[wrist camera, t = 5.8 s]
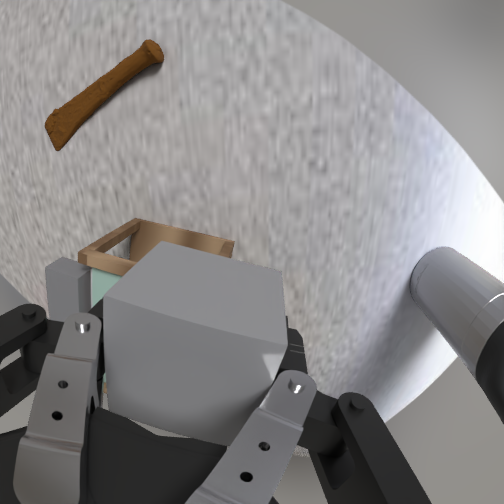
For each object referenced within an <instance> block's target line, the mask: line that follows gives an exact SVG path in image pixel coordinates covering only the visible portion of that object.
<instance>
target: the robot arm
mask: <svg viewBox="0 0 504 504" xmlns="http://www.w3.org/2000/svg"><path fill="white" fill-rule="evenodd" d="M410 289H411V294H412V298H413V299H414V301H415V302H416V304H417V305H418V306H419V307H420V308H421V310H422V311H423V312H424V313H425V314H426V316H427V317H428V318H429V320H430V321H431V322H432V323H433V324H434V326H435V327H436V328H437V329H438V331H439V332H440V333H441V334H442V336H443V337H444V338H445V340H446V341H447V342H448V343H449V345H450V346H451V347H452V349H453V350H454V351H455V353H456V354H457V355H458V356H459V358H460V359H461V360H462V362H463V363H464V365H465V366H466V367H467V368H468V370H469V371H470V373H471V374H472V375H473V377H474V378H475V380H476V381H477V382H478V384H479V385H480V387H481V388H482V389H483V391H484V393H485V394H486V396H487V398H488V399H489V401H490V403H491V404H492V406H493V407H494V409H495V410H496V412H497V414H498V415H499V417H500V419H501V421H502V422H503V424H504V283H502V282H501V281H500V280H498V279H497V278H495V277H494V276H493V275H491V274H490V273H488V272H487V271H486V270H484V269H483V268H481V267H480V266H478V265H477V264H475V263H474V262H472V261H471V260H470V259H468V258H467V257H465V256H464V255H462V254H461V253H459V252H457V251H456V250H454V249H452V248H450V247H439V248H436V249H433V250H431V251H430V252H428V253H427V254H426V255H425V256H424V257H423V258H422V259H421V260H420V261H419V262H418V264H417V265H416V267H415V269H414V271H413V274H412V278H411V284H410ZM286 328H287V340H288V346H287V349H286V351H285V354H284V356H283V359H282V361H281V364H280V366H279V369H278V371H277V374H276V376H275V379H274V381H273V383H272V386H271V388H270V390H269V392H268V394H267V395H266V397H265V399H264V400H263V402H262V403H261V405H260V406H259V408H258V407H257V408H256V409H255V410H254V411H253V413H252V414H251V416H250V417H249V419H248V420H247V422H246V423H245V425H244V426H243V428H242V429H241V431H240V432H239V434H238V435H237V437H236V438H235V440H234V441H233V442H232V444H231V445H230V447H229V449H228V450H227V446H225V445H220V444H215V443H211V442H206V441H202V440H198V439H194V438H179V437H167V436H158V435H155V434H153V433H152V432H150V431H148V430H146V429H145V428H143V427H141V426H139V425H138V424H136V423H135V422H133V421H131V420H129V419H128V418H126V417H123V416H121V415H118V414H115V413H113V412H110V411H108V410H105V409H103V408H102V402H103V389H104V374H105V358H104V330H103V297H102V299H100V300H99V301H98V302H97V303H96V304H95V305H94V306H93V307H92V308H91V309H90V310H89V312H88V313H75V314H72V315H70V316H68V317H67V318H66V320H65V322H60V321H54V320H48V319H47V318H46V312H45V310H44V308H42V307H41V306H39V305H36V304H24V305H21V306H18V307H17V308H15V309H13V310H11V311H9V312H7V313H5V314H3V315H1V316H0V364H1V362H2V360H3V359H4V358H5V357H7V356H8V355H10V354H12V353H13V352H15V351H16V350H18V349H20V353H21V357H19V358H18V359H16V360H15V361H14V362H12V363H10V364H9V365H7V366H6V367H4V368H3V369H1V370H0V417H1V416H2V415H4V414H5V413H6V412H8V411H9V410H10V409H11V408H13V407H14V406H15V405H17V404H18V403H19V402H20V401H22V400H23V399H24V398H26V397H27V396H28V395H30V394H31V393H32V392H33V391H35V390H36V393H35V397H34V400H33V404H32V409H31V413H30V417H29V421H28V426H26V427H23V428H19V429H16V430H13V431H9V432H6V433H2V434H0V504H279V503H278V502H277V501H276V500H275V498H274V497H273V494H274V492H275V490H276V488H277V486H278V484H279V482H280V480H281V478H282V476H283V474H284V471H285V469H286V467H287V465H288V463H289V461H290V459H291V456H292V454H293V452H294V450H295V447H296V445H299V446H301V447H304V448H306V449H308V451H309V454H310V457H311V460H312V462H313V465H314V467H315V470H316V473H317V476H318V478H319V481H320V484H321V486H322V489H323V492H324V494H325V497H326V499H327V502H328V504H432V503H431V502H430V500H429V498H428V496H427V495H426V493H425V491H424V490H423V488H422V486H421V484H420V483H419V481H418V479H417V477H416V476H415V474H414V472H413V471H412V469H411V467H410V466H409V464H408V462H407V460H406V459H405V457H404V455H403V454H402V452H401V450H400V449H399V447H398V445H397V443H396V442H395V440H394V439H393V437H392V435H391V433H390V432H389V430H388V428H387V427H386V425H385V423H384V422H383V420H382V419H381V417H380V415H379V414H378V412H377V410H376V409H375V407H374V405H373V404H372V402H371V401H370V400H369V399H368V398H366V397H365V396H363V395H361V394H358V393H353V392H348V393H344V394H342V395H341V396H340V397H339V399H335V398H333V397H330V396H327V395H325V394H323V393H321V392H319V391H318V390H317V385H316V383H315V381H314V380H313V379H312V378H311V377H310V376H309V375H308V373H307V366H306V359H305V354H304V347H303V346H304V345H303V339H302V337H301V335H300V334H299V332H298V331H297V330H295V329H291V328H288V318H287V316H286ZM226 450H227V451H226Z"/></svg>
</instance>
